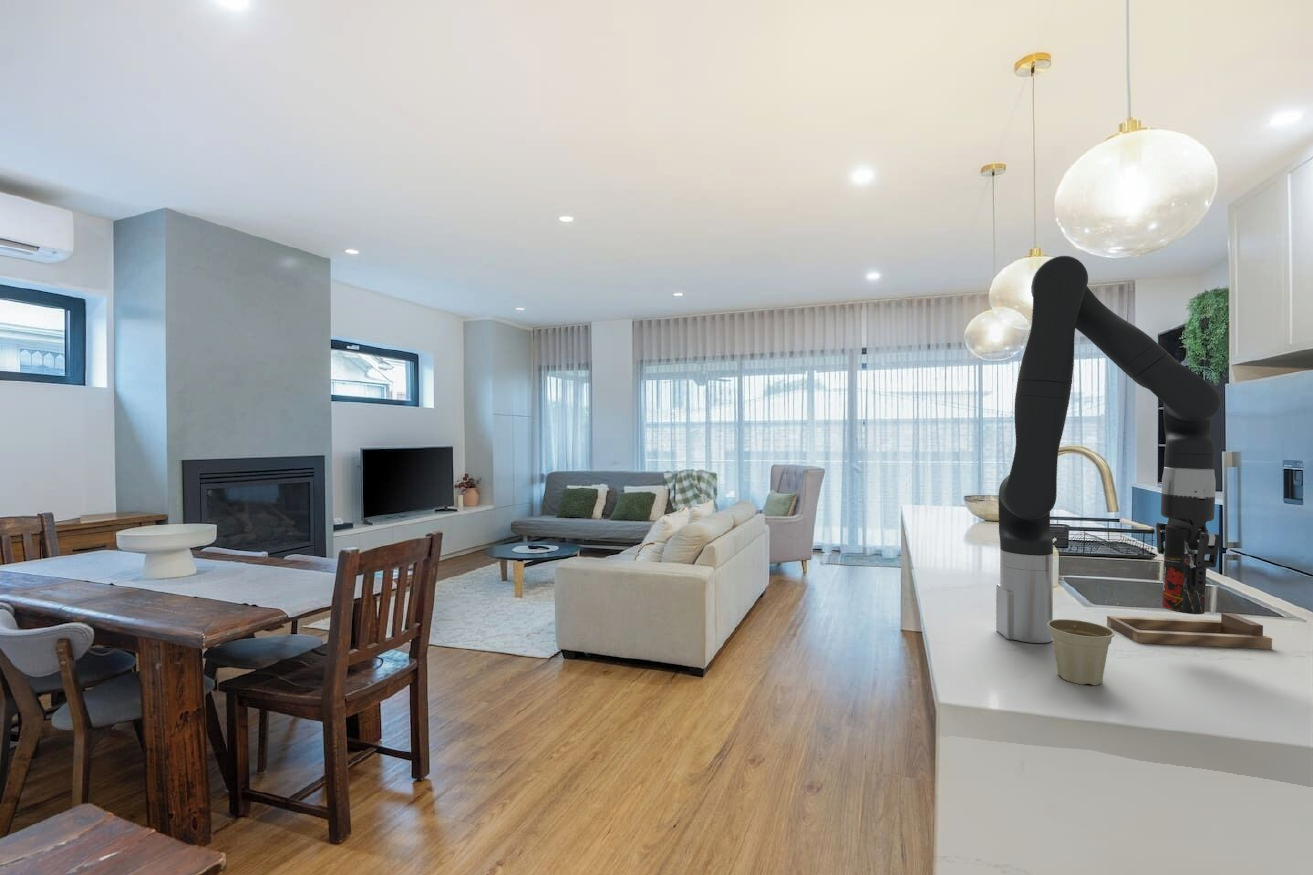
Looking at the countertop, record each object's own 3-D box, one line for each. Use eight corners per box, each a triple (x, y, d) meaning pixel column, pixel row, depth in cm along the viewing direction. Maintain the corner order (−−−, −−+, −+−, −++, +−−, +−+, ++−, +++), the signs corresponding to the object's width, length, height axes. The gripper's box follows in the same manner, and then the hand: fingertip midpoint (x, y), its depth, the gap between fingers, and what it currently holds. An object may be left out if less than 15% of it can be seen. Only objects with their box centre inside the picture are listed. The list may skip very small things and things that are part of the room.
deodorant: (1212, 615, 112) (1216, 531, 112) (1174, 612, 113) (1177, 529, 113) (1191, 606, 118) (1194, 526, 117) (1155, 603, 119) (1158, 524, 119)
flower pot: (1117, 695, 99) (1117, 640, 99) (1046, 682, 104) (1046, 630, 104) (1112, 675, 107) (1112, 624, 107) (1046, 664, 112) (1047, 616, 112)
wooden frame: (1137, 642, 124) (1137, 622, 124) (1107, 625, 134) (1107, 606, 134) (1272, 648, 120) (1272, 627, 120) (1229, 630, 131) (1229, 611, 131)
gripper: (1141, 488, 123) (1138, 574, 123) (1190, 496, 109) (1187, 593, 109) (1185, 489, 121) (1181, 576, 122) (1240, 498, 107) (1236, 596, 108)
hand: (1184, 584), depth 115 cm, fingers closed on deodorant, 6 cm apart
